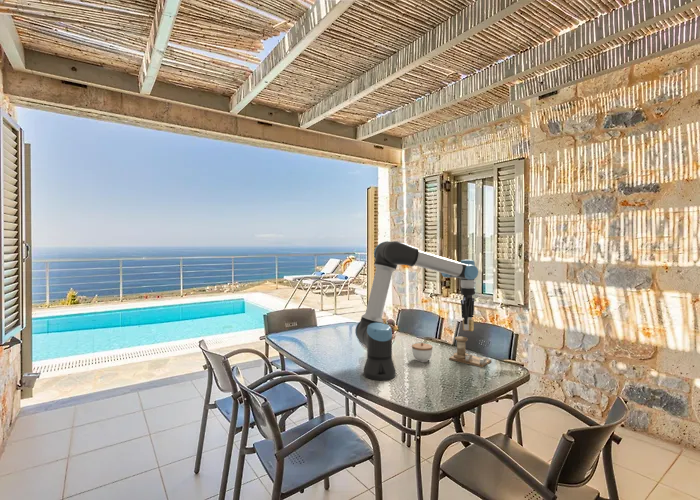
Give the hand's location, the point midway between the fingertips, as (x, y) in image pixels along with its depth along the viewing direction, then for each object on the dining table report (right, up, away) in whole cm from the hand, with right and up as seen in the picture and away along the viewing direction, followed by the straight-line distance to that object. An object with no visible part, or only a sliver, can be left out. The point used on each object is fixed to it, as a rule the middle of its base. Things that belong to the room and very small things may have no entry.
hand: (467, 329), depth 198 cm
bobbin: (-5, -15, -6) cm, 17 cm away
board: (-2, -15, -9) cm, 17 cm away
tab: (0, 0, 0) cm, 1 cm away
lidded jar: (-27, -15, -8) cm, 32 cm away
